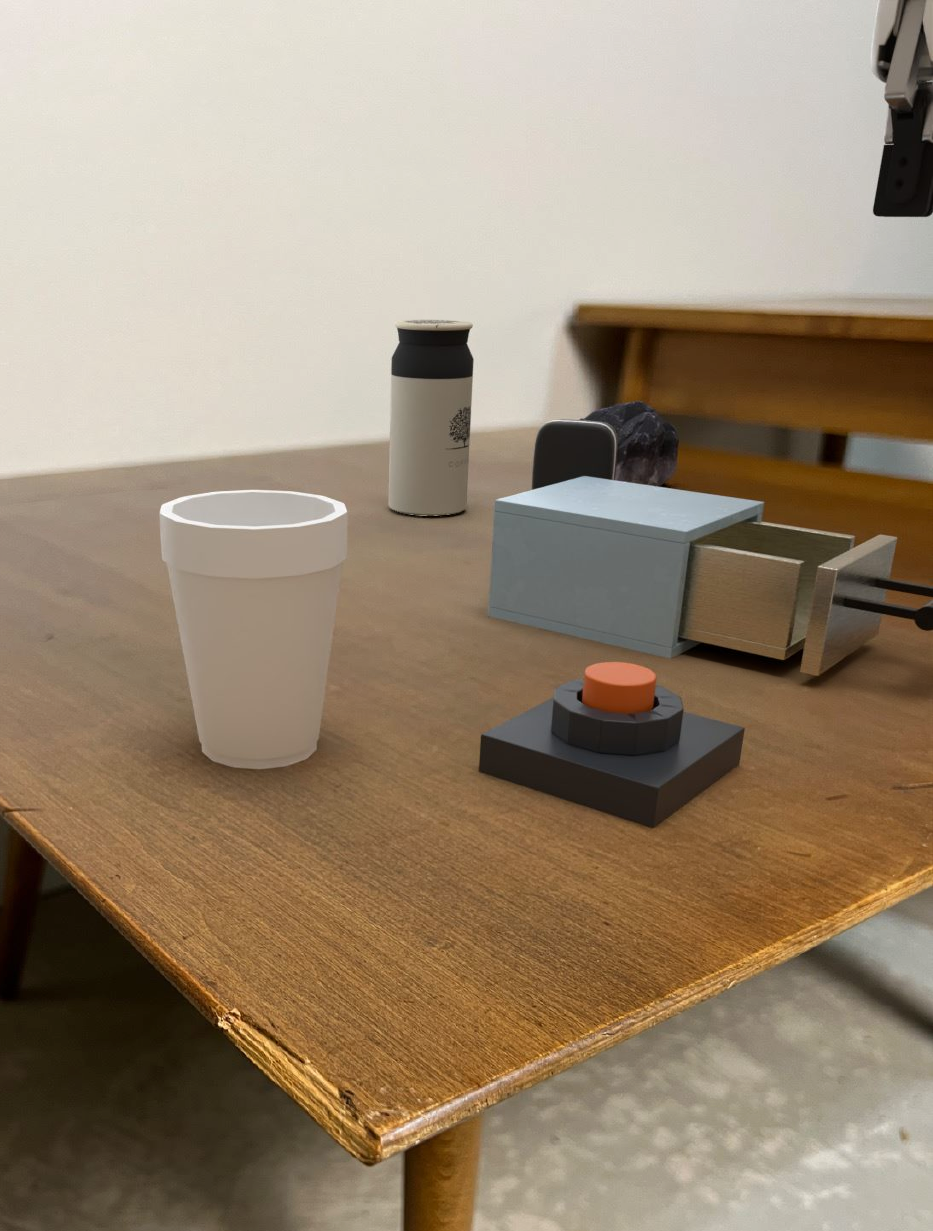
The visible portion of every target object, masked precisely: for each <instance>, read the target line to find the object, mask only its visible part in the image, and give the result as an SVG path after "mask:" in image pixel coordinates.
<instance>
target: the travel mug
mask: <svg viewBox="0 0 933 1231" xmlns="http://www.w3.org/2000/svg"><path fill="white" fill-rule="evenodd" d="M394 326H395V328H396V329H397V335H398V343H397V346H396V348H395V350H394V352H393V354H392V356H391V368H390V412H389V413H390V414H389V423H390V424H389V455H388V456H389V461H388V463H389V464H388V465H389V466H388V468H389V469H388V502H387V503H388V508H390V510H392V511H394V510H395V511H394V512H396V511H397V513H398V512H400V513H399V514H401V513H404V514H403V515H405V514H413V515H427V516H434V515H447V514H454V515H456V514H455V513H458V514H460V513H461V512H463V511H465V510H466V509H467V507H468V506H467V505H468V504H467V503H468V482H469V465H470V464H469V462H470V461H469V460H470V445H471V443H470V441H471V421H472V420H471V419H472V403H473V402H472V400H473V380H474V362H475V361H474V356H473V354H472V352H471V350H470V347H469V344H468V342H469V335H470V331H471V329H472V328H473V327H474V325H473V323H472V322H470V321H466V320H465V321H464V320H451V319H404V320H402V319H401V320H397V321H396V322H394Z"/></svg>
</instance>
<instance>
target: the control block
mask: <svg viewBox="0 0 933 1231" xmlns="http://www.w3.org/2000/svg"><path fill="white" fill-rule="evenodd" d="M583 684H584V678H577V679H572V680H569V681H567V682H565V683H563V684H561V685H559V686H557V687H555V688H554V690H553V697H551V698H549V699H547V700H545V701H543V702H542V703H539V704H538V705H535V706H534V707H532V708H530V709H528V710H526V711H524V712H522V713H520V714H518V715H516V716H514V717H512V718H510V719H508V720H506V721H505V722H504V721H503V723H500V724H498V725H496V726H494V727H492V728H491V729H488V730H486V731H485V732H483V733H481V734H480V743H479V744H480V746H479V760H478V761H479V762H478V772H479V773H481V774H485V775H487V776H490V777H493V778H497V779H500V780H503V781H506V782H508V783H512V784H515V785H519V786H521V787H524V788H528V789H530V790H534V791H536V792H539V793H542V794H546V795H549V796H552V797H555V798H558V799H561V800H565V801H568V802H571V803H573V804H577V805H579V806H583V807H585V808H589V809H591V810H596V811H598V812H601V813H604V814H607V815H610V816H613V817H616V818H619V819H623V820H626V821H629V822H632V823H635V824H637V825H641V826H644V827H647V828H650V829H655V828H656V827H657V826H659V825H660V824H662V823H663V822H664V821H666V819H668V818H670V817H671V816H672V815H673V814H675V813H677V812H678V811H679V810H680V809H681V808H683V807H684V806H685V805H687V804H688V803H690V802H691V801H692V800H694V799H695V798H697V797H698V796H699V795H700V794H702V793H703V792H704V791H706V790H707V789H709V788H710V787H711V786H712V785H714V784H715V783H717V782H718V781H719V780H721V779H722V778H724V776H727V774H730V772H731V771H732V770H734V769H735V768H737V767H738V766H739V765H740V763H741V755H742V750H743V742H744V736H745V729H746V728H745V727H744V726H740V725H737V724H732V723H729V722H725V721H721V720H717V719H713V718H710V717H706V716H702V715H698V714H694V713H692V712H691V713H690V712H686V711H685V710H684V705H683V704H684V703H683V700H682V697H681V696H680V695H678V694H676V693H675V692H674V691H673V692H672V691H671V690H669V689H667V688H666V687H664V686H663V685H658V684H656V686H655V695H654V703H653V708H652V710H651V711H648V712H640V713H633V714H624V713H610V712H605V711H601V710H598V709H594V708H590V707H588V706H586V705H585V704H583V703H582V695H583Z"/></svg>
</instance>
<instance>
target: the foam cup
mask: <svg viewBox="0 0 933 1231" xmlns="http://www.w3.org/2000/svg"><path fill="white" fill-rule="evenodd" d="M345 504H346V503H344V502H343V501H339V500H336V499H334V498H331V497H329V496H325V495H320V494H313V493H306V492H300V491H294V490H293V491H291V490H290V491H289V490H270V489H269V490H268V489H267V490H266V489H242V490H222V491H220V490H219V491H211V492H204V493H197V494H191V495H185V496H180V497H178V498H175V499H172V500H169V501H167V502H164V503H162V504H161V507H160V510H159V513H158V514H159V516H158V517H159V531H160V551H161V561H163V562H165V563H166V568H167V573H168V579H169V585H170V590H171V595H172V601H173V605H174V611H175V616H176V623H177V628H178V633H179V640H180V644H181V649H182V654H183V660H184V665H185V670H186V676H187V681H188V686H189V692H190V697H191V703H192V708H193V714H194V719H195V724H196V730H197V735H198V740H199V741H198V742H199V743H200V744H201V753H202V754H203V755H204V756H206V757H208V759H209V760H211V761H212V762H214V763H217V764H221V765H224V766H227V767H229V768H235V769H236V768H237V769H250V770H251V769H252V770H266V769H274V768H283V767H284V768H285V767H289V766H291V765H294V764H297V763H299V762H302V761H305V760H307V759H308V758H309V757H310V756H312V755H313V754H314V753H315V752H316V751H317V750H318V747H317V746H318V745H317V744H318V741H319V738H320V731H321V724H322V716H323V710H324V703H325V702H324V701H325V694H326V687H327V680H328V679H327V678H328V673H329V666H330V658H331V650H332V644H333V643H332V642H333V635H334V628H335V621H336V613H337V605H338V599H339V590H340V586H341V584H340V583H341V577H342V570H343V562H344V561H345V560H347V559H348V510H347V508H346V505H345Z"/></svg>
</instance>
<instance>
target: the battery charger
mask: <svg viewBox="0 0 933 1231" xmlns="http://www.w3.org/2000/svg"><path fill="white" fill-rule="evenodd" d="M533 448H534V449H533V456H532V457H533V458H532V467H531V468H532V470H531V490H534V489H538V488H542V487H545V486H549V485H553V484H556V483H560V482H564V481H568V480H571V479H575V478H579V477H583V476H587V477H594V478H601V479H608V480H615V474H616V464H617V450H618V437H617V433H616V430H615V429H614V428H613V427H612V426H611V425H610V424H608V423H605V422H599V421H588V420H579V419H570V418H569V419H566V418H565V419H563V418H561V419H553V420H550V421H547V422H544V424H542V425H541V426H540V428H539V429H538V430H537V433H536V436H535V441H534V447H533Z"/></svg>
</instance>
